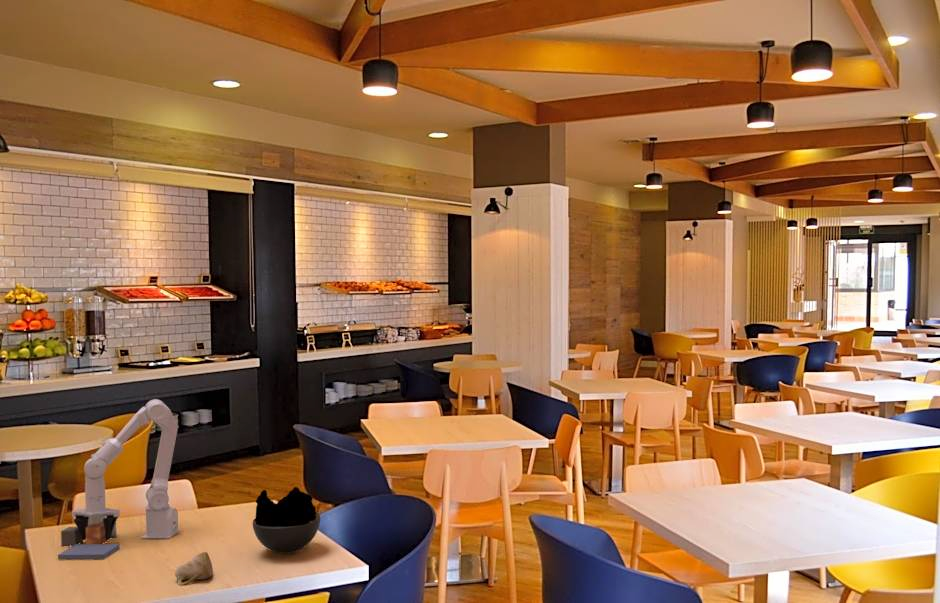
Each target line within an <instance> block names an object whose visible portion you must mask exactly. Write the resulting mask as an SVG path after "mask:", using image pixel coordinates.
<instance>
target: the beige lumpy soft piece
mask: <svg viewBox="0 0 940 603" xmlns="http://www.w3.org/2000/svg"><path fill="white" fill-rule="evenodd" d="M213 576H214V570H213V563H212V560H211V558H210V556H209V554H208V552H207V551H205V552H204V551H203V552H201V553H198V554H197V555H195V556H194V557H192V558H191V559H190V560H189V561H187V562H186V563H184V564H182V565H179V566H177V567H176V568H175V570H174V577H175V578H176V580H177V585H179V586H186V585H188V584H190V583H192V582H194V581H195V580H206V579H209V578H210V577H213ZM183 581H184V582H183Z"/></svg>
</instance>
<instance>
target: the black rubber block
mask: <svg viewBox="0 0 940 603" xmlns="http://www.w3.org/2000/svg"><path fill="white" fill-rule="evenodd" d="M60 532H61V533H60V534H61V538H60V539H61V541H60V542H61V547H62V546H70V545H71V546H74V545H76V544H79V543H81V542H83V543H84V540H82V537H81V534H80V531H79V529H78V527H77V526H68V527H66V528H64V529H62V530H61V531H60ZM81 544H82V543H81Z"/></svg>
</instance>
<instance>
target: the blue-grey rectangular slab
mask: <svg viewBox="0 0 940 603" xmlns="http://www.w3.org/2000/svg"><path fill="white" fill-rule="evenodd" d="M120 546H121V545H120V543H112V544H111V543H105V544H86V543H85V544H82V543H81V544H76V545H74V546H72V547H68V548H67V549H66V550H64V551H62V552H60V553H58V554H57V560H58V559H104V560H105V559H107V558H108V557H110V556H111V555H112V554H114V553H116V552H117V551H119V550H120V549H121V547H120ZM106 557H107V558H106Z"/></svg>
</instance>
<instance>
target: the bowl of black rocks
mask: <svg viewBox="0 0 940 603" xmlns="http://www.w3.org/2000/svg"><path fill="white" fill-rule="evenodd" d="M313 499H314V498H313V496H311V494H309V493H306V492H304V491H300V488H299V487H298V486H295V487H293V488H292V489H291V490H289V492H288V494H286V496H283V497H282V498H281V499H279V500H278V502H277V503H275V502H274V500H271V499H270V498H269V497H268V491H267V490H266V489H263V490H262V491H261V492H260V494H259V495H258V496H257V498H256V499H255V503H256V507H255V518H254V519H253V520H252V529H253V533H254V534H255V536H256V539H257V540H258V541H259V542H260V544H261V545H262V546H264V547H265V548H267V549H268V550H270V551H272V552H275V553H281V554H291V553H295V552H297V551H300V550H301V549H304V548H305V547H306V546H307V545H308V544H310V542H311V541H312V540H313V539H314V538H315V536H316V535H317V533H318V531H319V527H320V523H321V522H320V521H321V515H320V514H319V513H318V512H317V511H316V509H317V508H316V507H315V505H314V504H313Z"/></svg>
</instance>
